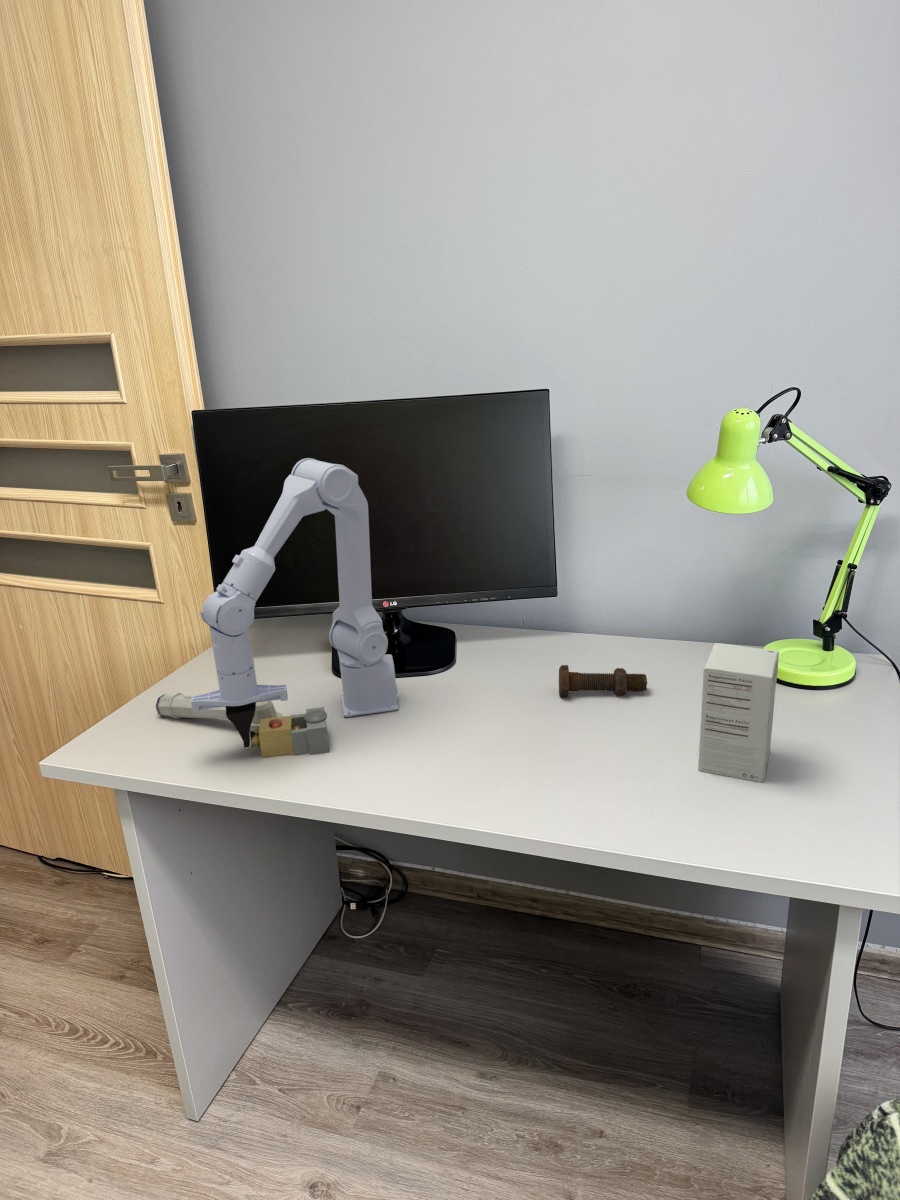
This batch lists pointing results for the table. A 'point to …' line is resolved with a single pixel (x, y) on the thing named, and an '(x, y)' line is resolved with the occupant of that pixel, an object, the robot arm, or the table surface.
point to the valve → (274, 736)
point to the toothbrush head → (183, 708)
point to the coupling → (310, 732)
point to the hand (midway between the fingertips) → (247, 744)
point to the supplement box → (737, 711)
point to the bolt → (600, 682)
